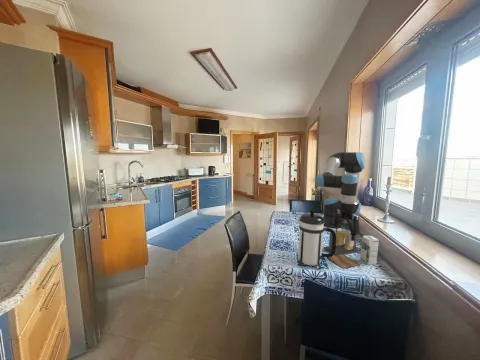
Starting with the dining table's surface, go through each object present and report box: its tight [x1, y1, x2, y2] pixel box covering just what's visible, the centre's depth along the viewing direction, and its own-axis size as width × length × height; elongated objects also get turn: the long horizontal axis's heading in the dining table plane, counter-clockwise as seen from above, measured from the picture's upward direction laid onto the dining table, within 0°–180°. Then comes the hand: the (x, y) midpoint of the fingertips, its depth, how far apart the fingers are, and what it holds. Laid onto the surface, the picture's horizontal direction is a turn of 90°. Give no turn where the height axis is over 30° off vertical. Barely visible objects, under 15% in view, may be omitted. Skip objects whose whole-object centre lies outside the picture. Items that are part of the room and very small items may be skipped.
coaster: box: [326, 254, 361, 270], centre depth 114 cm, size 12×12×1 cm
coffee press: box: [296, 209, 336, 270], centre depth 110 cm, size 17×16×30 cm
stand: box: [323, 229, 361, 256], centre depth 128 cm, size 20×10×12 cm, turn 109°
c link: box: [336, 229, 353, 250], centre depth 113 cm, size 4×8×8 cm, turn 19°
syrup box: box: [359, 235, 380, 266], centre depth 113 cm, size 6×6×14 cm
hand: (344, 242), depth 113 cm, fingers closed on c link, 8 cm apart
